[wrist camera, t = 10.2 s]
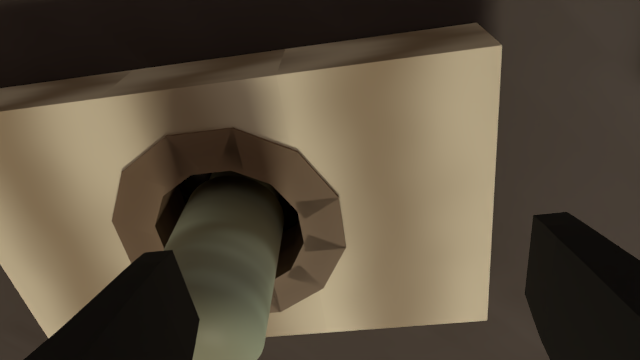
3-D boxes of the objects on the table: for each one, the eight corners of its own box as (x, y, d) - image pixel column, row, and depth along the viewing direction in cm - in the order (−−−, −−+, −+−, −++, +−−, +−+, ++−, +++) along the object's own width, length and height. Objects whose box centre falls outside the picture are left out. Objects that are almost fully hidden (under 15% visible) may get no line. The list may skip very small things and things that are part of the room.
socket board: (477, 22, 17) (503, 46, 14) (470, 273, 23) (487, 322, 20) (-33, 92, 19) (-94, 124, 16) (86, 305, 25) (56, 354, 22)
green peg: (279, 146, 20) (248, 279, 13) (295, 222, 22) (276, 373, 15) (187, 157, 20) (110, 292, 13) (212, 231, 22) (155, 381, 15)
